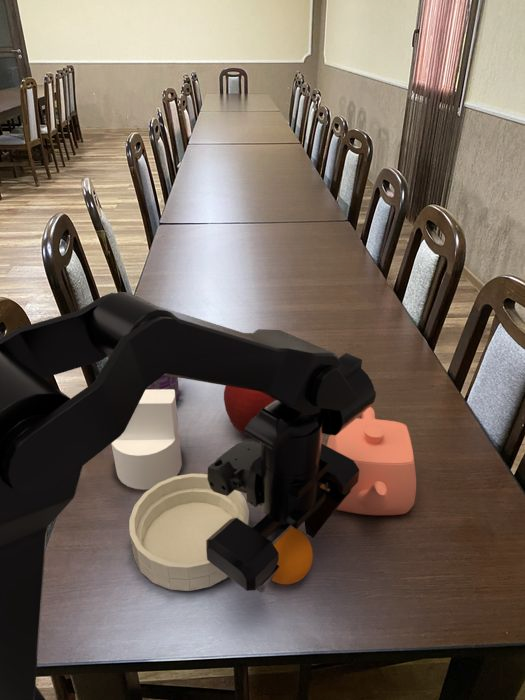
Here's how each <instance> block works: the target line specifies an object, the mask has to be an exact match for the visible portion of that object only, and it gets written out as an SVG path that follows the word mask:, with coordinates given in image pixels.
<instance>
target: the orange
mask: <svg viewBox="0 0 525 700" xmlns="http://www.w3.org/2000/svg"><path fill="white" fill-rule="evenodd" d="M273 545H274V546H275V548H276V550H277V551H278V553H279V561H278V563H277V565H279V569H278V570H277V572H276V573H275V575H274V576H273V578H272V580H271V581H272V582H274V583H277V584H280V585H293V584H295V583H298V582H299V581H301V580H302V579H304V577H305V576H307V574H308V573H309V571H310V569H311V568H312V567H311V566H312V565H313V560H314V559H313V558H314V552H313V547H312V544H311V542H310V540H309V538H308V537H307V536H306V534H305V533H304V532H303V531H301V530H300V529H299V528H298V529H296V528H294V527H292V526H291V527H290V528H289V529H288V530H287V531H286V532H285V533H284V534H283V535H282V536H281V537H280V538H279V539H278V540H277V541H276V542H275V543H274V544H273Z"/></svg>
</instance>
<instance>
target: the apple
mask: <svg viewBox="0 0 525 700" xmlns="http://www.w3.org/2000/svg"><path fill="white" fill-rule="evenodd" d="M224 386H225V388H224V390H223V402H224V406H225V411H226V415H227V416H228V417H227V418H228V419H229V421H230V422H231V424H232V425H233V427H234V428H235V429H236V430H237V431H239V432H240V433H242V434H244V435H246V436H249V435H248V434H246V433H245V432H244V429H245V427H246V425H247V424H248V422H249V421H250V420H251V419H253V418H254V417H256V416H257V415H258V414H259V412H260V410H261V409H262V408H265V407H266V406H268V405H269V404H271V403H272V402H274V401H275V400H276V399H274V398H272V397H270V396H268V395H266V394H264V393H262V392H260V391H256V390H250V389H244V388H238V387H232V386H226V385H224Z"/></svg>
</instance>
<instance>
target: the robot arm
mask: <svg viewBox="0 0 525 700" xmlns="http://www.w3.org/2000/svg"><path fill="white" fill-rule="evenodd" d="M106 358H108V359H107V360H106V362H105V363H104V365H103V367H102V368H101V370H100V372H99V373H98V375H97V376H96V378H95V379H94V381H93V382H92V383H91V384H90V385H88V386H86V388H83V389H82V390H81V391H79V392H78V393H76V394H75V395H73V396H72V397H71V398H70V397H69V396H68V395H67V394H65V393H64V392H62V390H60V389H58V388H57V387H56V386H54V385H53V384H52V383H51V382H49V381H48V380H46V379H47V378H49V377H53V376H56V375H59V374H62V373H66V372H70V371H73V370H76V369H80V368H82V367H87V366H89V365H92V364H96V363H99V362H100V361H103V360H104V359H106ZM362 365H363V359H361V358H359V357H357V356H355V355H352V354H350V353H348V352H345V353H344V354H342V355H341V356H339V355H337V354H335V353H334V352H332V351H330V350H328V349H325V348H323V347H321V346H319V345H316V344H314V343H311V342H309V341H307V340H305V339H302V338H300V337H297V336H295V335H293V334H291V333H288V332H285V331H284V330H280V329H266V328H265V329H263V328H259V329H256V330H255V331H253V332H242V331H239V330H236V329H233V328H229V327H226V326H224V325H220V324H217V323H213V322H210V321H208V320H204V319H201V318H197V317H194V316H191V315H187V314H185V313H181V312H178V311H175V310H172V309H169V308H165V307H163V306H159V305H157V304H154V303H153V302H150V301H148V300H146V299H144V298H141V297H139V296H138V295H135V294H133V293H131V292H126V291H118V292H109V293H107V294H104V295H102V296H100V297H99V298H97V299H95V300H93V301H92V302H90V303H88V304H87V305H85V306H84V307H82V308H80V309H78V310H77V311H73V312H70V313H67V314H63V315H58V316H55V317H52V318H49V319H45V320H42V321H38V322H34V323H31V324H27V325H23V326H20V327H18V328H16V329H13V330H12V331H9V332H8V333H6V334H5V335H3V336H1V337H0V700H47V699H46V698H45V696H44V695H43V694H42V692H41V691H40V689H39V688H38V686H37V670H38V658H39V657H38V656H39V645H40V644H39V643H40V632H41V631H40V630H41V617H42V616H41V615H42V605H43V604H42V603H43V588H44V576H45V564H46V563H45V561H46V550H47V549H46V548H47V536H48V529H49V526H50V525H51V524H52V523H53V522H54V520H56V518H58V516H59V515H60V514H61V513H62V512H63V511H64V510H65V509H66V507H68V505H69V504H70V503H71V502H72V501H73V500H74V498H75V496H76V493H77V490H78V487H79V483H80V479H81V476H82V471H83V469H84V468H83V467H84V466H85V465H86V464H87V463H88V462H90V461H91V460H93V458H95V457H96V456H97V455H98V454H100V453H101V452H102V451H104V450H105V449H106V448H107V447H109V446H110V445H111V443H112V442H113V441H115V440H116V439H117V438H119V437H120V436H121V435H122V433H123V432H124V431H125V429H126V427H127V425H128V423H129V421H130V419H131V417H132V415H133V413H134V411H135V409H136V407H137V406H138V404H139V402H140V400H141V398H142V396H143V394H144V392H145V390H146V388H147V387H148V386H150V385H151V384H152V383H154V382H155V381H156V380H158V379H159V378H160V377H162V376H163V375H166V376H172V377H178V379H185V380H190V381H196V382H202V383H209V384H215V385H220V386H232V387H238V388H244V389H250V390H256V391H260V392H262V393H264V394H266V395H268V396H270V397H272V398H274V399H276V400H275V401H274V402H272V403H271V404H269V405H268V406H266V407H265V408H262V409H261V410H260V412H259V414H258V415H257V416H256V417H254V418H253V419H251V420H250V421H249V422H248V424H247V425H246V427H245V429H244V432H245V433H246V434H245V435H247V434H248V435H247V436H249V437H251V438H252V439H254V440H256V441H258V443H257V442H253V441H248V440H244V441H241V442H240V441H239V442H238V443H236V444H235V445H233V446H232V447H231V448H229V449H228V450H227V451H225V452H224V453H223V454H221V455H220V456H219V457H217V458H216V459H215V461H214V462H212V463H211V464H210V465H209V466H207V474H208V475H207V479H208V482H209V485H210V488H211V489H212V490H213V491H214V492H216V493H219V494H222V495H226V496H228V495H230V494H231V493H232V492H233V491H234V490H237V491H240V492H241V493H242V494H243V493H244V494H246V502H247V504H248V503H249V504H250V505H251V506H253V507H254V508H257V507H258V506H260V507H261V510H262V512H263V513H264V515H265V516H263V518H261V519H260V521H258V522H257V523H256V524H255V525H254V526H253V527H252V526H251V525H250V526H248V525H247V524H245V523H244V522H242V521H241V520H240V519H238V518H233V519H230V520H229V521H228V522H226V523H225V524H224V525H223V526H222V527H221V528H220V529H219V530H217V531H216V532H215V533H214V534H213V535H212V536H211V537H209V538H208V539H207V540H206V551H207V560H208V561H209V562H211V563H212V564H213V565H214V566H216V567H217V568H218V569H219V570H221V571H222V572H223V573H225V574H226V575H227V576H228V577H227V578H230V579H231V580H232V581H233V582H235V583H236V584H237V585H238V586H240V587H241V588H242V589H244V590H245V592H247V591H249V592H250V591H256V590H257V591H259V592H260V593H264V591H265V590H266V589H267V588H268V586H269V585H270V583H271V581H272V578H273V576H274V575H275V573H276V572H277V570H278V569H279V565H277V563H278V561H279V553H278V551H277V550H276V548H275V546H274V545H273V544H274V543H275V542H276V541H277V540H278V539H279V538H280V537H281V536H282V535H283V534H284V533H285V532H286V531H287V530H288V529H289V528H290V527H294V528H296V529H298V530H299V528H300V527H301V526H302V525H303V524H304V531H305V535H307V536H308V537H310V538H315V537H316V535H317V534H318V533H320V531H321V529H322V528H323V527H324V526H325V524H326V523H327V522H328V521H329V520H330V518H331V517H332V515H334V513H335V512H336V510H337V508H338V507H339V505H340V504H341V503H342V502H343V500H344V499H345V498H346V497H347V496H348V494H349V493H350V492H351V489H352V488H353V487H354V486H355V485H356V484H357V482H358V478H359V468H358V466H357V465H356V463H355V462H354V460H352V459H350V458H348V457H346V456H344V455H343V454H341V453H339V452H337V451H335V450H333V449H331V448H329V447H327V445H325V444H324V443H322V440H323V434H324V435H327V436H330V435H334V436H336V435H337V434H338V433H340V432H341V431H342V430H343V429H344V428H345V427H347V426H348V425H349V424H350V423H351V422H353V421H354V420H355V419H356V418H359V417H360V416H362V413H363V412H364V411H366V410H367V409H368V408H369V407H372V405H373V404H374V403H375V400H376V397H377V391H376V390H375V385H374V384H373V382H372V379H371V378H370V376H369V374H368V373H367V372H366V371H364V369H363V368H362V367H363V366H362Z"/></svg>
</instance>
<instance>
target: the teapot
mask: <svg viewBox="0 0 525 700" xmlns="http://www.w3.org/2000/svg"><path fill="white" fill-rule="evenodd" d="M412 445H413V444H412V441H411V436H410V432H409V428H408V426H407V425H406V424H405V423H403V422H399V421H395V420H387V419H378V418H376V413H375V409H374V408H373V407H372V406H370V407H369V408H368V409H367V410H366V411H364V412H363V413H362V414H361V418H359V417H357V418H356V419H355V420H354V421H353V422H351V423H350V424H349V425H348V426H347V427H345V428H344V429H343V430H342V431H341V432H340V433H338V434H337V435H336V436H334V435H329V437H328V440H327V443H326V446H327V447H329V448H331V449H333V450H335V451H337V452H339V453H341V454H343V455H344V456H346V457H348V458H350V459H352V460H354V462H355V463H356V465H357V466H358V468H359V478H358V482H357V484H356V485H355V486H354V487H353V488H352V489H351V492H350V493H349V494H348V496H347V497H346V498H345V499H344V500H343V502H342V503H341V504H340V505H339V507H338V508H337V509H336V510H337V511H341V512H345V513H351V514H358V515H367V516H397V515H398V516H399V515H405V514H407V513H408V512H410V510H411V509H412V508H413V507H414V505H415V502H416V501H415V500H416V495H417V473H416V463H415V456H414V450H413V446H412Z"/></svg>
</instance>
